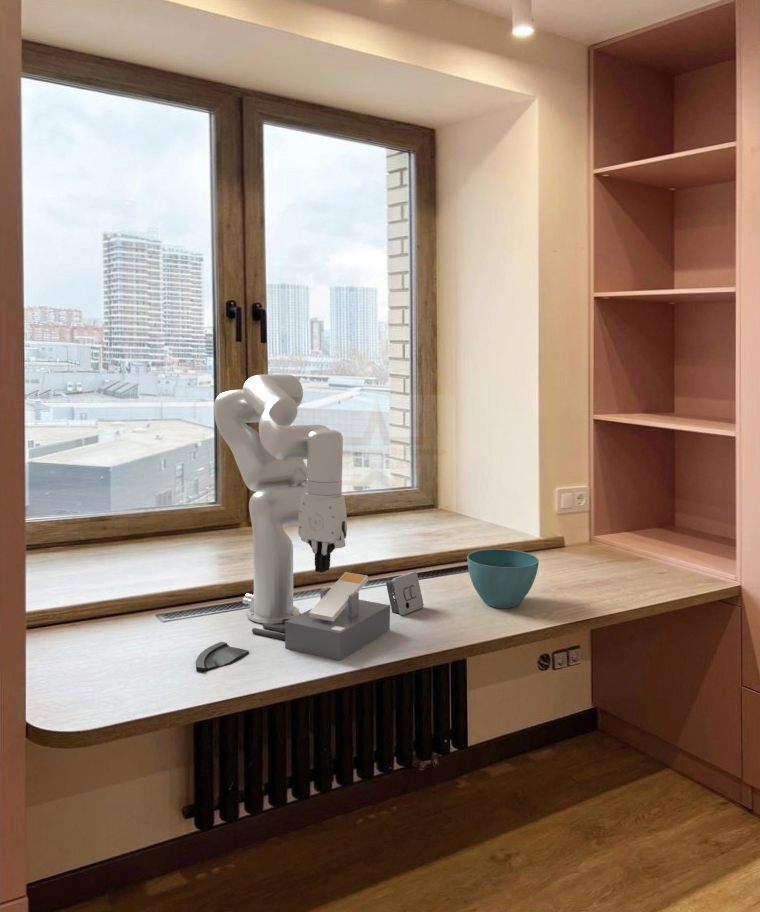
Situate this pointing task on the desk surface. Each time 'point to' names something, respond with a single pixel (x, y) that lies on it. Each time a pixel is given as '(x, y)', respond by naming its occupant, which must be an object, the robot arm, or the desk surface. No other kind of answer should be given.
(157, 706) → the desk surface
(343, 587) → the breaker rocker
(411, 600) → the electrical switch
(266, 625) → the three grey prongs
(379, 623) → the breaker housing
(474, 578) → the plant pot
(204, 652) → the fan shaped piece
